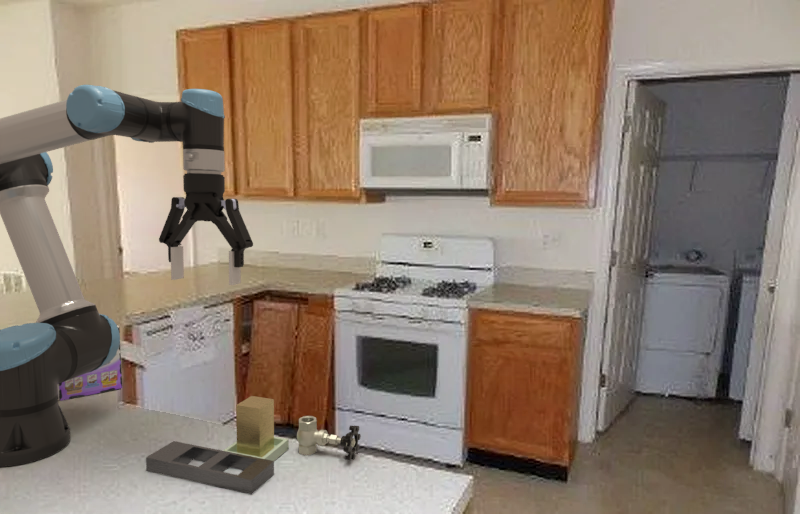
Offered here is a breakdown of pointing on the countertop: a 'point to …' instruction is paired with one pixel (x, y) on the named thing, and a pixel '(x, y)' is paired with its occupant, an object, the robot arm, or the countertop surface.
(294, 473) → the countertop surface
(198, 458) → the grey slotted holder
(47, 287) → the robot arm
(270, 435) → the wooden block
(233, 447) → the tray
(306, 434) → the valve
